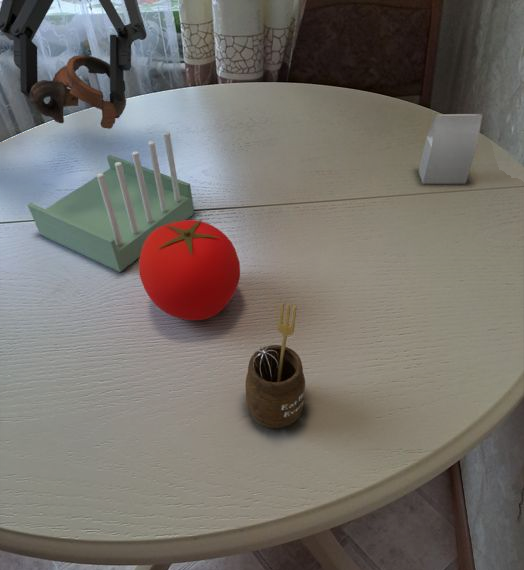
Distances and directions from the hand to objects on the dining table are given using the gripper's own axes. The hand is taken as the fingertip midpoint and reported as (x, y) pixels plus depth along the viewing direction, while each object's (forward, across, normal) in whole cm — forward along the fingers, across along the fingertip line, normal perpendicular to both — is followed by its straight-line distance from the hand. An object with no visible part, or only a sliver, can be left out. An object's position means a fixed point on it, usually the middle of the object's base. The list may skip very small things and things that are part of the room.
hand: (73, 96), depth 61 cm
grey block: (+4, -51, -22) cm, 56 cm away
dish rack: (+13, -2, -12) cm, 18 cm away
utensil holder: (+36, -26, +10) cm, 45 cm away
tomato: (+25, -15, 0) cm, 29 cm away
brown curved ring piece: (+1, +1, -5) cm, 5 cm away
